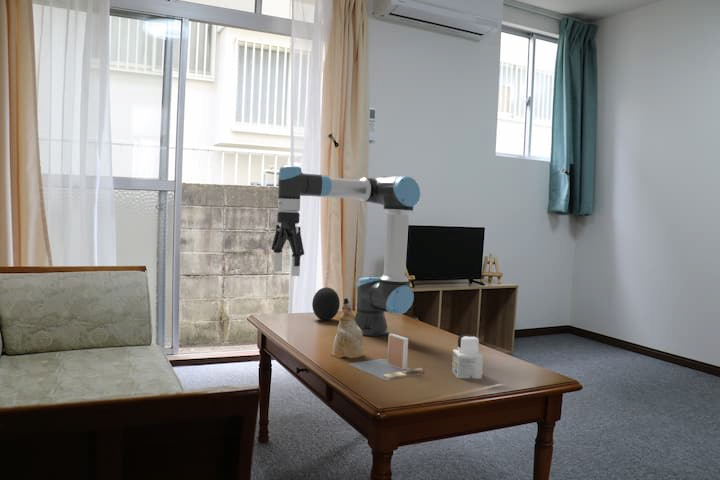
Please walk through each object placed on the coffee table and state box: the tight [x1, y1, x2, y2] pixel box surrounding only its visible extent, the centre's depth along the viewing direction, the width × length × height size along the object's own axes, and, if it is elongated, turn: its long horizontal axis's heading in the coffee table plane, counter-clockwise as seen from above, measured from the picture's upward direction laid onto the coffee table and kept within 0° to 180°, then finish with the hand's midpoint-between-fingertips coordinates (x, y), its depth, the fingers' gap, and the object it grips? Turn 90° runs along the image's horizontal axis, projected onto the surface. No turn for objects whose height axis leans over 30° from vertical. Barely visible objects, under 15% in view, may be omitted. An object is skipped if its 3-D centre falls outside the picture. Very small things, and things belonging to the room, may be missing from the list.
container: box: [451, 334, 484, 380], centre depth 177 cm, size 8×8×13 cm
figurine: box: [330, 297, 365, 359], centre depth 195 cm, size 12×10×20 cm
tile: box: [386, 333, 409, 370], centre depth 182 cm, size 2×8×10 cm, turn 36°
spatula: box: [383, 367, 425, 380], centre depth 174 cm, size 15×3×1 cm, turn 126°
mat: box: [348, 357, 424, 381], centre depth 180 cm, size 15×20×1 cm
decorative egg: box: [311, 287, 341, 322], centre depth 255 cm, size 12×12×15 cm
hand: (286, 273), depth 194 cm, fingers open, 13 cm apart
